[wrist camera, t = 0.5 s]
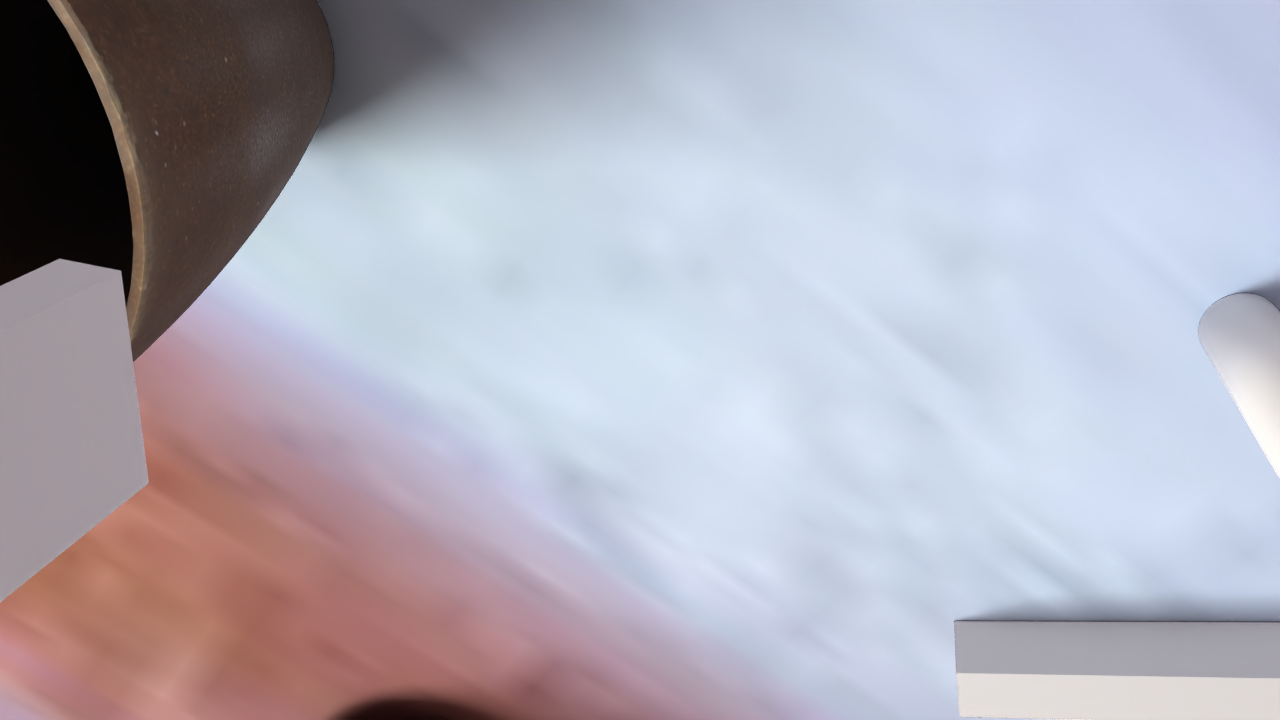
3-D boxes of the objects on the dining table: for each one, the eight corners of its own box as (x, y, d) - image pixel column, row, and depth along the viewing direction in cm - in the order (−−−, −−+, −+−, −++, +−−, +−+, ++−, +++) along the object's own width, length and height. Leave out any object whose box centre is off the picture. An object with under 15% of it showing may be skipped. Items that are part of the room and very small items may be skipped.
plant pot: (520, 34, 36) (256, 142, 22) (307, 322, 42) (0, 547, 28) (168, -287, 34) (-365, -398, 20) (6, 65, 41) (-477, 167, 27)
